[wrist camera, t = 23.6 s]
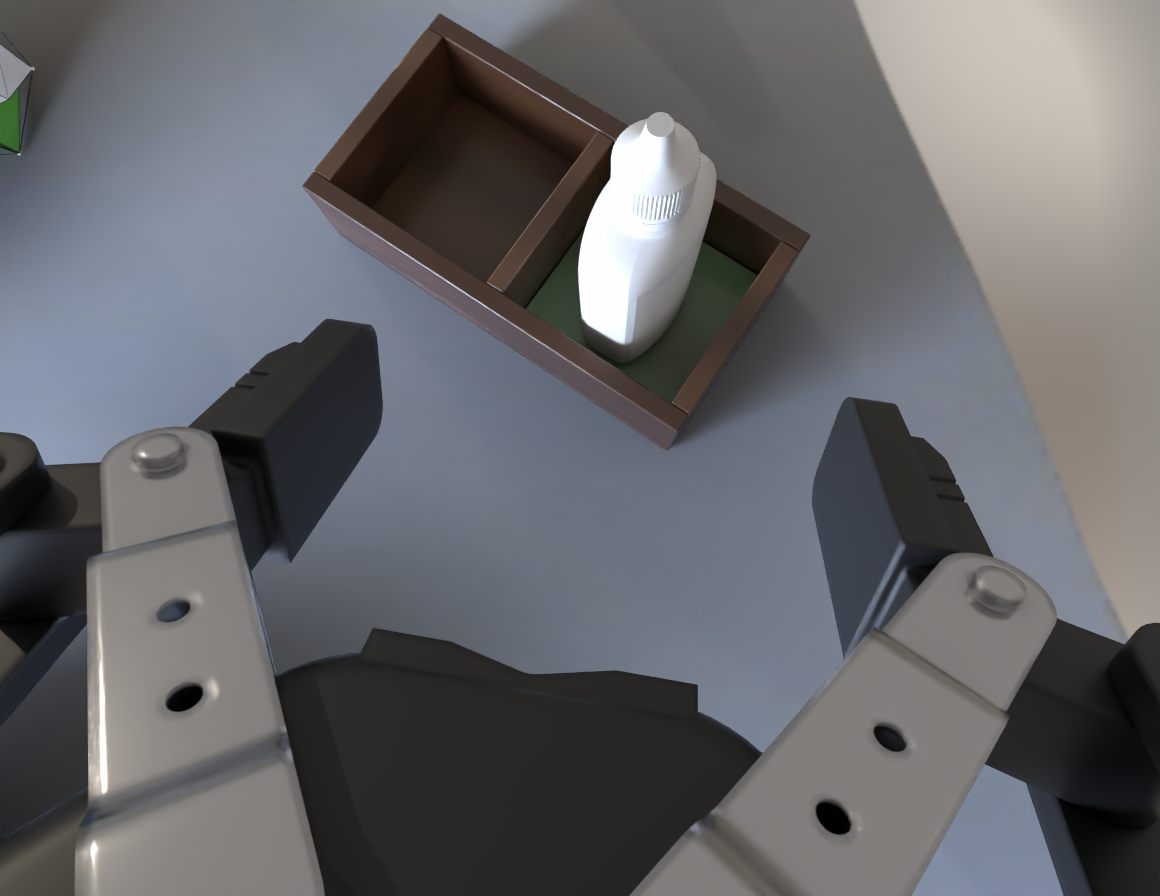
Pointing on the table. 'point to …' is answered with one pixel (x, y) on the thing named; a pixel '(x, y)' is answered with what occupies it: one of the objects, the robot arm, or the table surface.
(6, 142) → the geometric puzzle
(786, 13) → the table surface
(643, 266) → the eye dropper bottle
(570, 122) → the brown wooden divided tray
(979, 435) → the table surface
